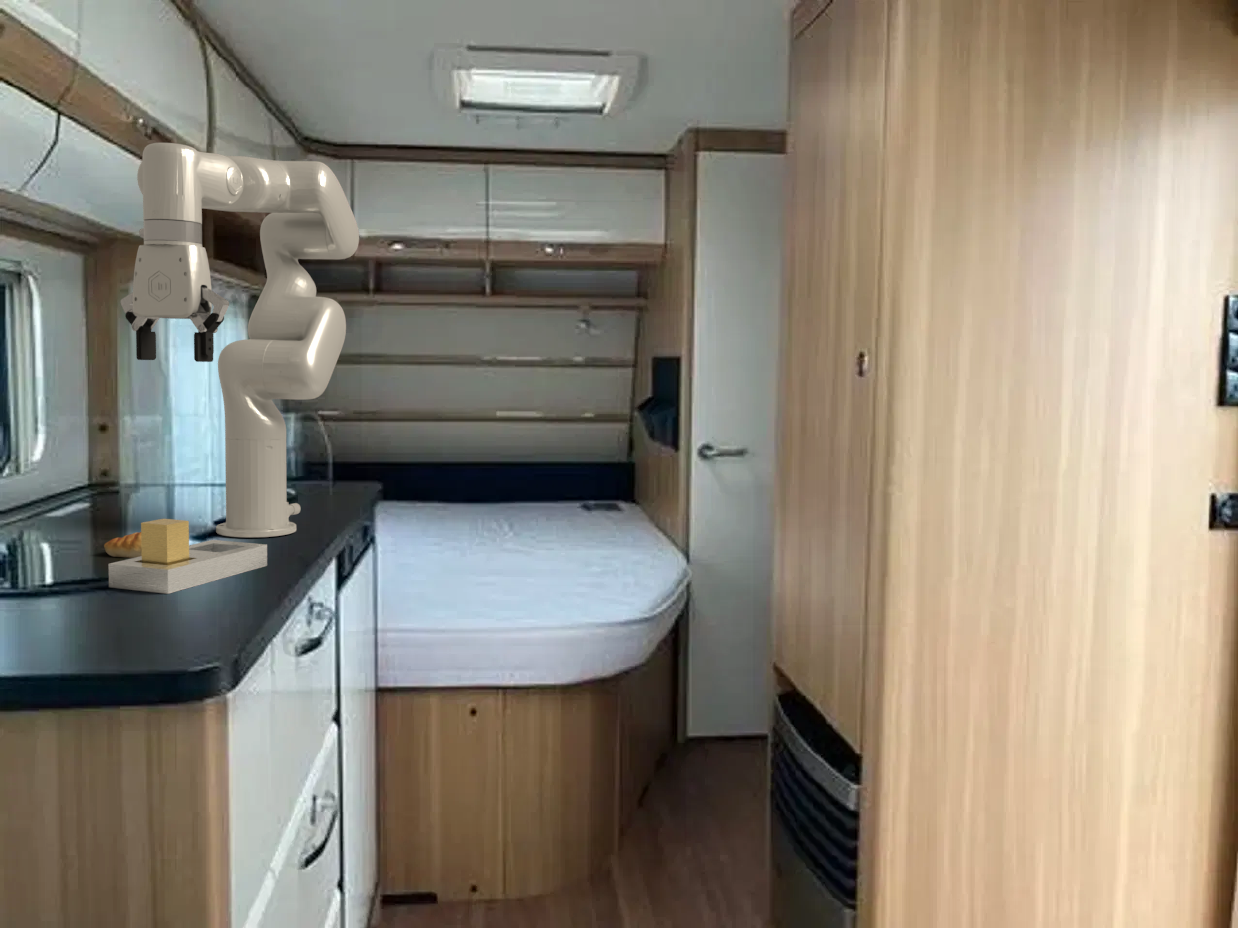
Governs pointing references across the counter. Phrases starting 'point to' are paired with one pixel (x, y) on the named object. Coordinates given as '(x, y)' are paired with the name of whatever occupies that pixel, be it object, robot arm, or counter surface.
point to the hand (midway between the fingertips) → (174, 360)
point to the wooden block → (165, 541)
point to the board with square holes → (189, 567)
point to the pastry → (125, 546)
